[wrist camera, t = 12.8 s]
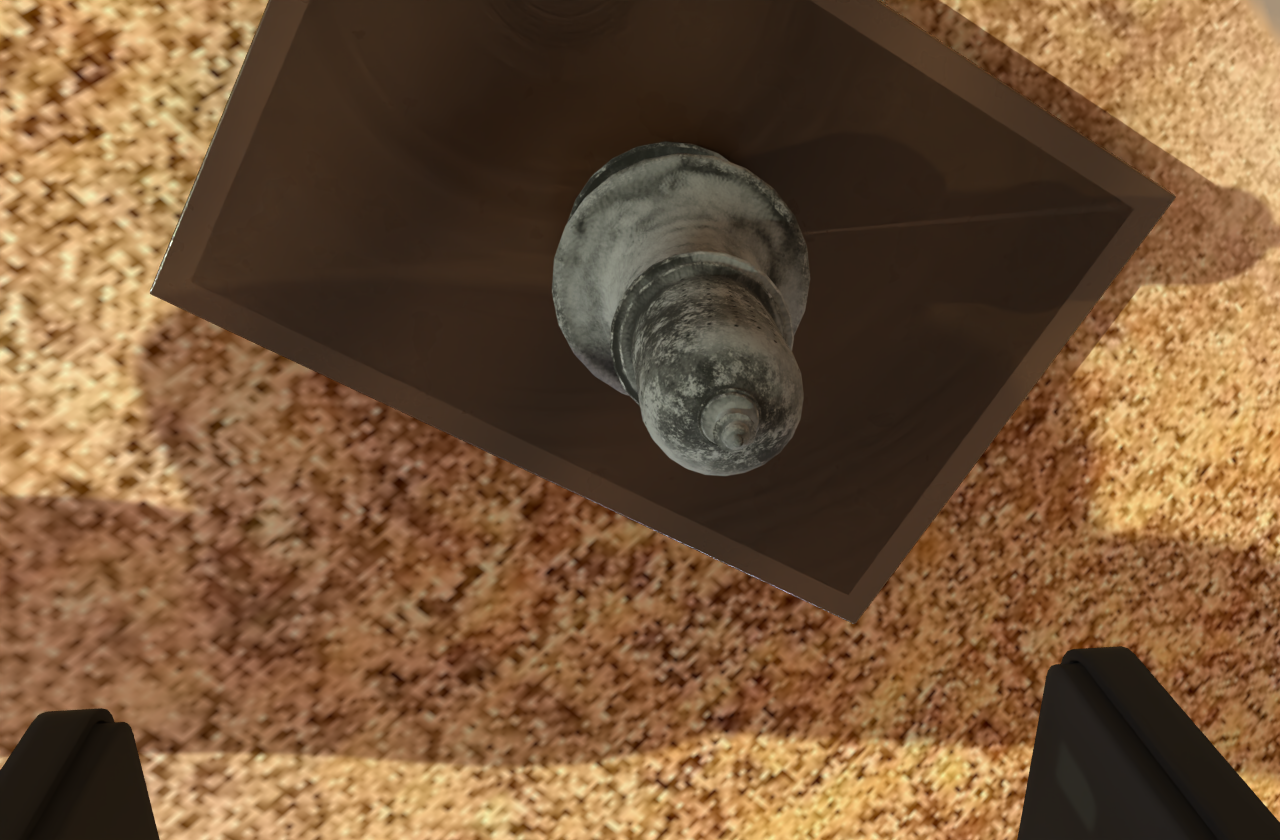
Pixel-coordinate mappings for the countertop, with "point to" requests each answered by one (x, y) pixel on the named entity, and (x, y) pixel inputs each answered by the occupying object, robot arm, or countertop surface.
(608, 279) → the stone chess piece
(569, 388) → the board
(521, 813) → the countertop surface
